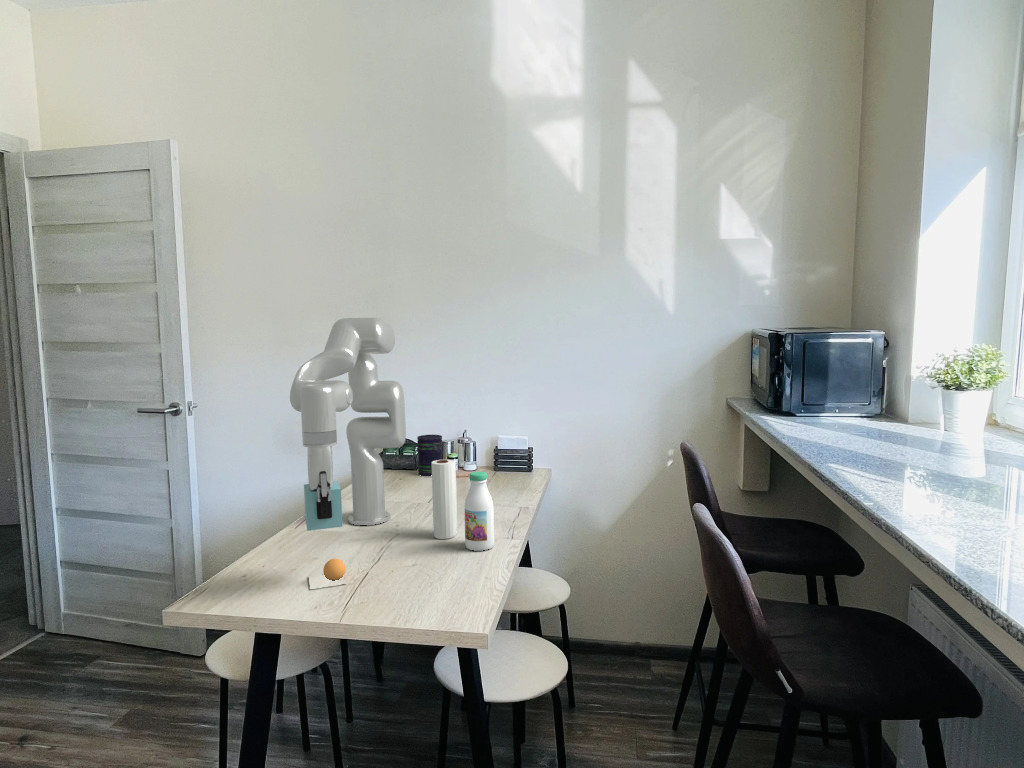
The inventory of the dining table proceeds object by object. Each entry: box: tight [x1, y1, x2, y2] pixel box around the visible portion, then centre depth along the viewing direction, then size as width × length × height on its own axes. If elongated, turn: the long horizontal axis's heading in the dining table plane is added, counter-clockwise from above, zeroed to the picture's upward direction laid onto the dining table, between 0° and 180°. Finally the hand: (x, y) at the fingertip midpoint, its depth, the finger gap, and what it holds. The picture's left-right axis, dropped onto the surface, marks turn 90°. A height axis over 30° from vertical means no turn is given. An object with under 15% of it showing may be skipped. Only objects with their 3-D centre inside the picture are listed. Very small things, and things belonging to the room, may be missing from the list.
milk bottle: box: [464, 471, 495, 552], centre depth 172 cm, size 8×8×20 cm
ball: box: [322, 558, 346, 581], centre depth 152 cm, size 5×5×5 cm
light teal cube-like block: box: [303, 480, 343, 532], centre depth 150 cm, size 8×8×9 cm
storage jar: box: [416, 434, 443, 477], centre depth 256 cm, size 10×10×15 cm
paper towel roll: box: [431, 458, 458, 540], centre depth 181 cm, size 7×6×21 cm
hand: (323, 513), depth 150 cm, fingers closed on light teal cube-like block, 7 cm apart
